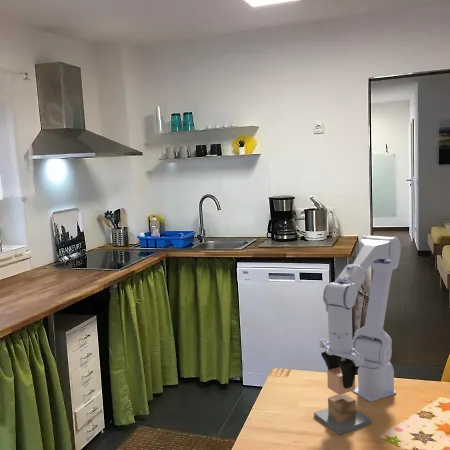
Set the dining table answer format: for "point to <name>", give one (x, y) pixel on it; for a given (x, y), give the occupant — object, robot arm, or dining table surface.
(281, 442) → the dining table surface
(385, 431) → the dining table surface
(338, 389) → the pinkish tan block
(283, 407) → the dining table surface
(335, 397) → the walnut brick
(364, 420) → the base plate
